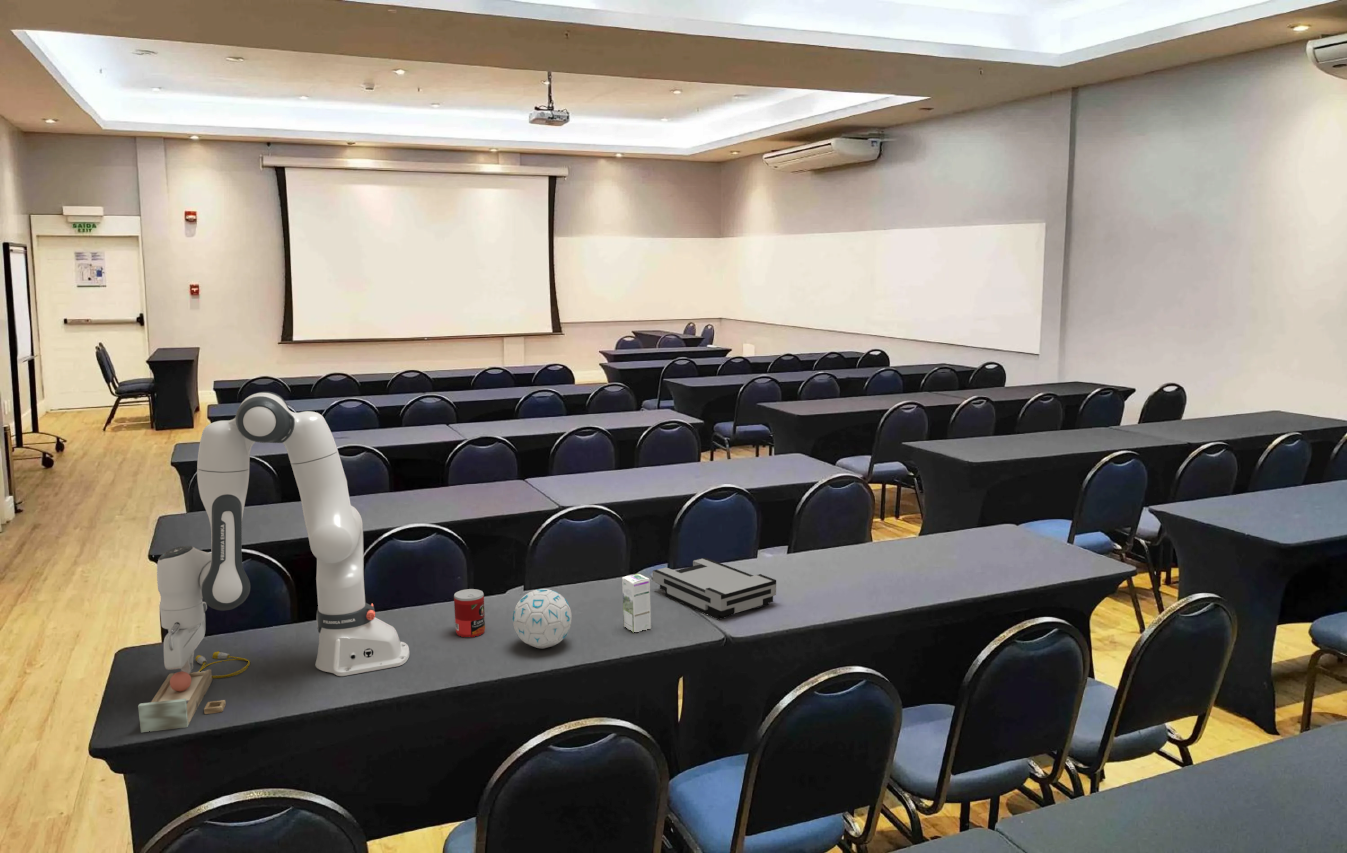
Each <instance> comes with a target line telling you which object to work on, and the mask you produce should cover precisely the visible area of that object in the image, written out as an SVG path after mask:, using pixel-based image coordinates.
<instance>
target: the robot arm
mask: <svg viewBox="0 0 1347 853" xmlns="http://www.w3.org/2000/svg"><path fill="white" fill-rule="evenodd" d="M256 443H261V444H262V443H263V444H268V443H269V444H283V446H284V448H285V450H286V451H287V455H288V459H289V461H290V462H289V463H290V465H291V468H292V471H293V475H294V478H295V482H296V486H297V488H298V492H299V496H300V501H301V509H302V512H303V519H304V524H305V528H306V529H305V530H306V532H307V537H308V538H307V539H308V541H309V546H310V547H309V548H310V551H311V552H312V554H313V556H314V557H315V558H316V577H315V580H316V595H317V597H316V598H317V605H318V606H317V610H316V615H315V616H316V627H317V631H318V633H319V635H318V646H317V647H318V649H317V653H316V654H317V656H316V659H315V660H316V661H315V663H314V664H315V665H314V666H315V668H316V669H317V670H320V671H322V672H327V673H331V674H334V675H336V676H337V677H346V676H351V675H356V674H361V673H368V672H373V671H379V670H384V669H385V670H386V669H389V668H390V669H391V668H395V667H399V666H402V665H404V664H405V663H406V662H407V661H408V660H409V658H410V647H409V645H408V643H406V642H404V641H401V640H400V637H399V634H398V631H397V630H396V628H395V627H394V626H393V625H390V624H388V623H387V622H385V621H383V620H381V619H379V618H377V617H376V611H375V606H374V604H373V603H371V604H369V603H367V602H366V594H365V580H364V579H365V578H364V530H363V528H364V527H363V526H364V524H363V519H362V516H361V514H360V512H359V511H358V510H357V508H356V507H355V506H353V505H352V504H351V499H350V493H349V488H348V480H347V476H346V474H345V471H344V470H345V469H344V468H343V463H342V460H341V457H340V453H339V450H338V446H337V444H336V442H335V438H334V435H333V433H332V431H331V429H330V427H329V425H328V423H327V421H326V419H325V418H324V416H323V415H322V414H320V413H319V412H317V411H316V412H315V411H312V410H311V411H310V410H309V411H307V410H306V411H300V412H293V411H291V410H290V408H289V405H288V404H287V402H286V400H285V399H284V398H283V397H282V396H281V395H279V394H278V393H275V392H271V391H259V392H256V393H253V394H251V395H249V396H248V397H246V398H245V399H244V400H243V401H242V402H241V403H240V405H239V407H238V408H237V411H236V414H235V416H234V418H232V419H230V420H229V419H228V420H217V421H214V422H212V423H209V424H208V425H206V426H205V427H204V428H203V430H202V433H201V437H200V440H199V446H198V453H197V462H196V463H197V466H196V467H197V468H196V471H197V472H196V478H197V486H198V487H197V488H198V493H199V497H200V499H201V502H202V504H203V507H204V509H205V512H206V514H207V516H208V520H209V525H210V531H211V532H210V533H211V537H210V538H211V541H210V542H211V543H210V544H211V545H210V548H211V552H208V551H203V550H201V549H198V548H196V547H194V546H192V545H180V546H177V547H173V548H170V549H168V550H167V551H165V552H163V553H162V554H161V555H160V556H159V557H158V559H157V560H158V561H157V565H156V581H157V582H156V583H157V591H158V593H159V596H160V601H159V615H160V623H161V627H162V628H163V629H164V630H167V631H168V633H166V635H165V636H164V640H163V663H164V668H165V670H166V671H167V670H168V671H170V670H179V669H180V672H186V673H188V674H189V673H191V672H192V670H193V669H194V657H195V656H194V655H195V650H196V649H197V648H198V646H199V645H200V643H201V642H202V641H203V639H204V638H205V634H206V611H207V609H208V607H210V608H211V609H214V610H216V611H230V610H233V609H236V608H238V607H239V606H241V605H243V603H244V602H246V600H247V599H248V597H249V595H250V592H251V582H250V579H249V577H248V575H247V572H246V571H245V569H244V567H243V557H242V556H243V554H242V552H243V551H242V550H243V548H242V546H243V544H242V543H243V542H242V541H243V539H242V538H243V536H242V535H243V534H242V533H243V532H242V530H243V529H242V528H243V527H242V526H243V525H242V524H243V515H244V509H245V504H246V499H247V494H248V488H249V479H250V457H251V450H252V447H253V446H254V444H256Z"/></svg>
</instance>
